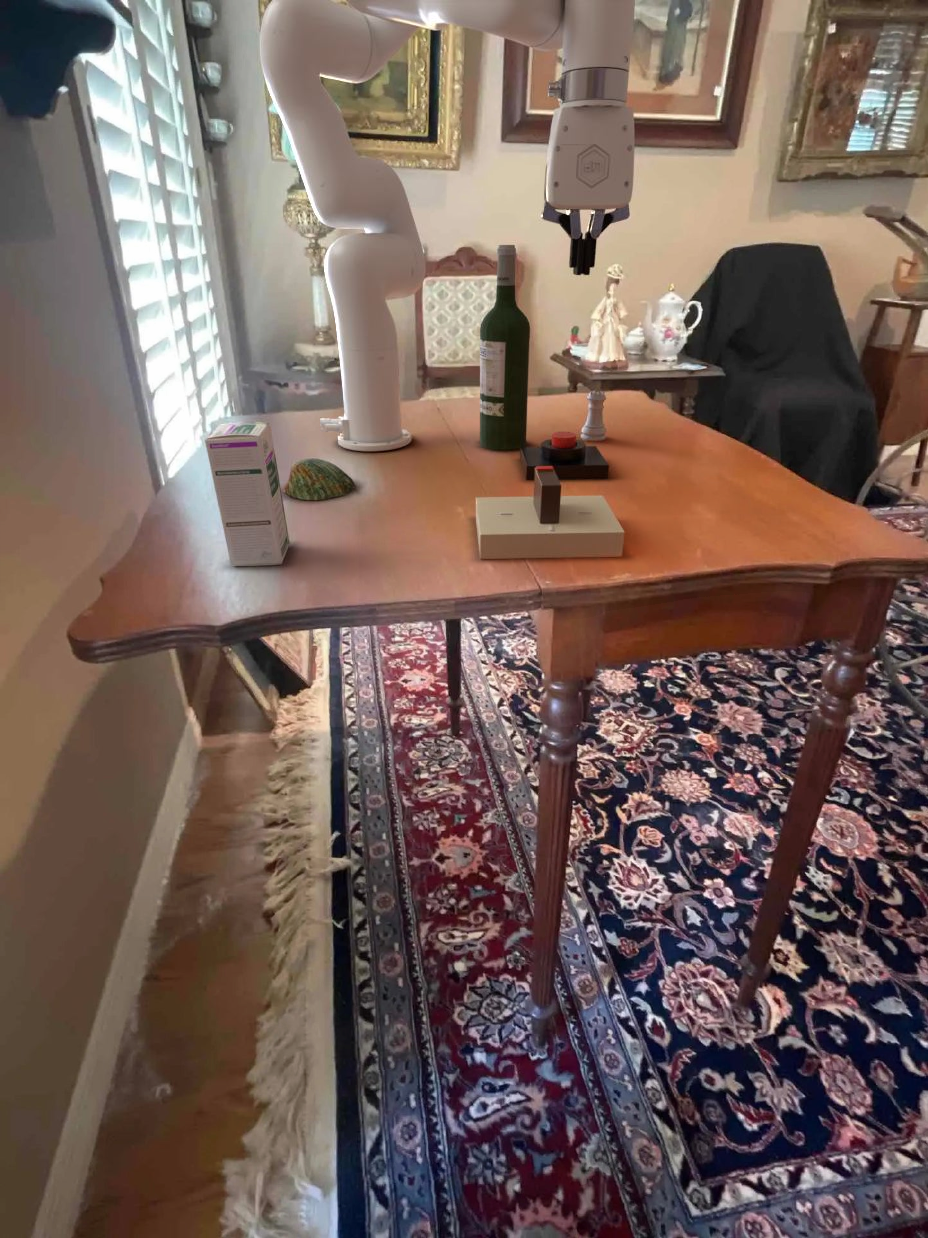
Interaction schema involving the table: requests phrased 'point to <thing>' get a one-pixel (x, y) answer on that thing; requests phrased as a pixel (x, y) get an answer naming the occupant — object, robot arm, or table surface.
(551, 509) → the handle
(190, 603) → the table surface
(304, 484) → the seashell
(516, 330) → the wine bottle
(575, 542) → the panel
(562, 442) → the button
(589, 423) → the rook chess piece
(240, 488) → the syrup box
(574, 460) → the button block
